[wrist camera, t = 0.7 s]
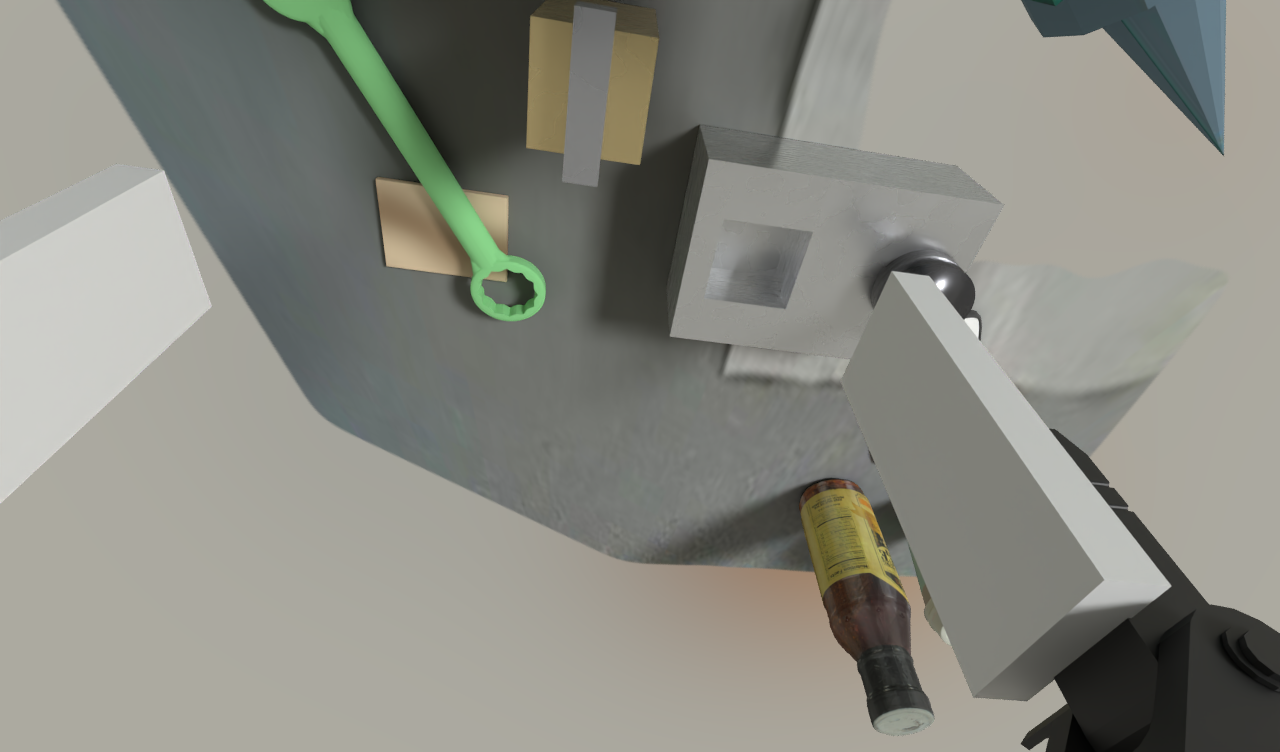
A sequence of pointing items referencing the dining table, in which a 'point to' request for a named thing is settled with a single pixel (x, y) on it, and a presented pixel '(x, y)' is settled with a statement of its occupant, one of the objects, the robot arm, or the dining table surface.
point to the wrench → (415, 148)
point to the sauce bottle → (865, 602)
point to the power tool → (1157, 46)
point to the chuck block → (814, 240)
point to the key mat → (434, 229)
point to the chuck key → (590, 83)
